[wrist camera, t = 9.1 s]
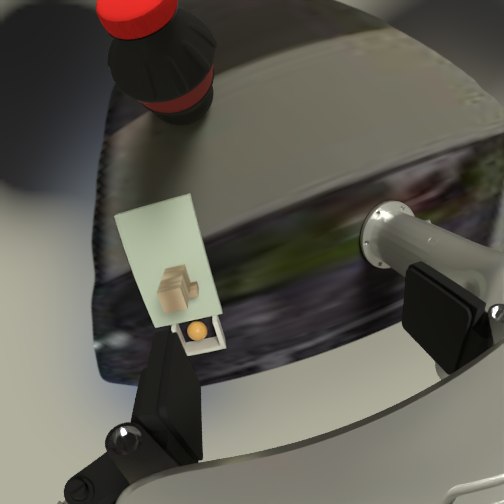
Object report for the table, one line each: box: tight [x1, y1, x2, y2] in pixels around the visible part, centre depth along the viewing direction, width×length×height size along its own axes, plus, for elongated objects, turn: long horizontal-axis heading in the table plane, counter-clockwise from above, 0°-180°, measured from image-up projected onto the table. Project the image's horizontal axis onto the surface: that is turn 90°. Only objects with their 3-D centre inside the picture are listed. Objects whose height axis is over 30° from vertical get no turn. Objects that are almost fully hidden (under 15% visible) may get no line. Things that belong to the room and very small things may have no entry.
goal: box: [171, 315, 226, 356], centre depth 47 cm, size 8×6×3 cm
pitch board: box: [114, 193, 222, 328], centre depth 43 cm, size 12×20×1 cm, turn 11°
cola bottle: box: [96, 0, 217, 125], centre depth 21 cm, size 8×8×30 cm
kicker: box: [157, 264, 199, 314], centre depth 39 cm, size 5×4×8 cm
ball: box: [187, 321, 207, 341], centre depth 46 cm, size 3×3×3 cm
